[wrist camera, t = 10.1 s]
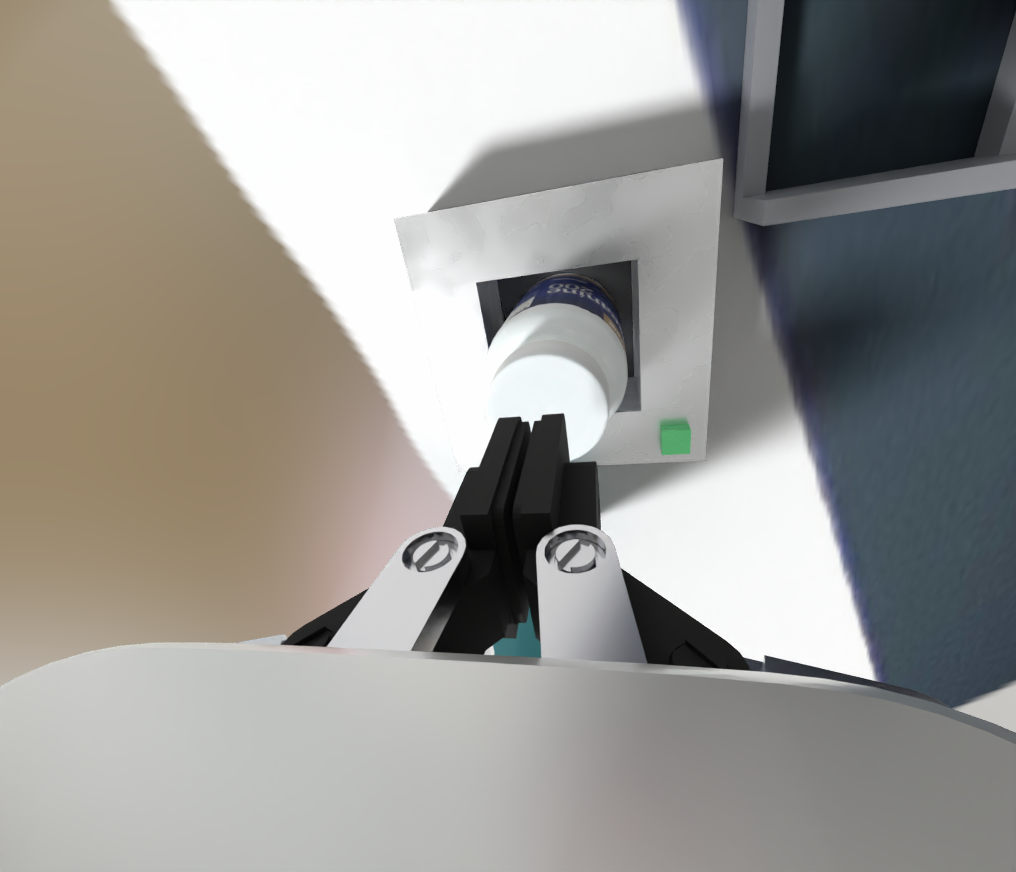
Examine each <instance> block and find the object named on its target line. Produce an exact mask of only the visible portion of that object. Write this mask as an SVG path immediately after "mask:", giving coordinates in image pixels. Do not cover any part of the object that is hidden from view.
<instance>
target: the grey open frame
mask: <svg viewBox="0 0 1016 872" xmlns="http://www.w3.org/2000/svg"><path fill="white" fill-rule="evenodd" d="M783 9H784V0H748V14H747V28H746V43H745V57H744V71H743V85H742V99H741V113H740V127H739V141H738V155H737V169H736V183H735V197H734V211H733V218H736V219H739V220H743V221H747V222H750V223H754V224H758V225H761V226H768V225H774V224H781V223H788V222H794V221H801V220H808V219H814V218H821V217H827V216H834V215H841V214H847V213H854V212H861V211H867V210H874V209H881V208H887V207H894V206H901V205H907V204H914V203H921V202H927V201H934V200H940V199H947V198H954V197H960V196H967V195H974V194H980V193H987V192H994V191H1000V190H1007V189H1014V188H1016V12H1015V15H1014V19H1013V22H1012V26H1011V29H1010V33H1009V36H1008V40H1007V43H1006V47H1005V50H1004V54H1003V57H1002V61H1001V64H1000V68H999V71H998V74H997V78H996V81H995V85H994V88H993V92H992V95H991V99H990V102H989V106H988V109H987V113H986V116H985V120H984V123H983V127H982V130H981V134H980V137H979V141H978V144H977V147H976V151H975V154H974V157H971V158H965V159H959V160H953V161H947V162H941V163H935V164H929V165H923V166H917V167H911V168H905V169H899V170H893V171H887V172H881V173H875V174H869V175H863V176H856V177H850V178H844V179H838V180H832V181H826V182H820V183H814V184H808V185H802V186H796V187H790V188H784V189H778V190H772V191H766V192H765V189H766V179H767V169H768V159H769V149H770V139H771V129H772V119H773V109H774V99H775V89H776V79H777V69H778V59H779V49H780V39H781V29H782V19H783Z"/></svg>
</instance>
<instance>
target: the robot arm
mask: <svg viewBox="0 0 1016 872" xmlns="http://www.w3.org/2000/svg"><path fill="white" fill-rule="evenodd" d="M529 608H530V613H531V618H532V622H533V627H534V632H535V637H536V638H537V639H538V641H539V642H540V643H541V658H537V657H519V656H500V655H494V653H495V651H494V644H495V643H497V642H498V641H499V640H501V639H502V638H513V639H516V637H517V631H518V625H519V623H526V622H527V618H528V611H529ZM0 872H1016V733H1015V732H1012V731H1010V730H1008V729H1005V728H1003V727H1001V726H998V725H996V724H994V723H991V722H988V721H985V720H982V719H979V718H976V717H973V716H971V715H968V714H965V713H962V712H959V711H956V710H954V709H952V708H950V707H949V706H947V705H945V704H944V703H942V702H940V701H939V700H937V699H935V698H933V697H931V696H928V695H925V694H922V693H919V692H917V691H914V690H911V689H907V688H902V687H898V686H894V685H890V684H885V683H881V682H877V681H872V680H868V679H864V678H860V677H855V676H851V675H847V674H842V673H838V672H834V671H829V670H825V669H821V668H817V667H812V666H808V665H804V664H799V663H795V662H791V661H787V660H782V659H778V658H774V657H769V656H765V655H764V660H763V662H760V661H756V660H752V659H747V658H743V657H742V655H741V654H740V652H738V651H737V650H736V649H735V648H734V647H733V646H732V645H730V644H729V643H728V642H727V641H726V640H724V639H723V638H721V637H720V636H718V635H717V634H715V633H714V632H713V631H711V630H710V629H708V628H707V627H705V626H704V625H702V624H701V623H700V622H698V621H697V620H695V619H694V618H692V617H691V616H689V615H688V614H687V613H685V612H684V611H682V610H681V609H679V608H678V607H676V606H675V605H674V604H672V603H671V602H669V601H668V600H666V599H665V598H663V597H662V596H660V595H659V594H658V593H656V592H655V591H653V590H652V589H650V588H649V587H647V586H646V585H645V584H643V583H642V582H640V581H639V580H637V579H636V578H634V577H633V576H632V575H630V574H629V573H627V572H626V571H624V570H623V569H621V567H620V564H619V560H618V557H617V553H616V549H615V546H614V544H613V542H612V540H611V538H610V537H609V536H608V535H606V534H605V533H604V532H603V531H601V520H600V499H599V485H598V472H597V463H596V461H591V462H570V457H569V448H568V439H567V431H566V422H565V415H564V413H559V414H546V415H542V418H541V420H539V421H534V424H533V428H532V432H531V429H530V424H529V422H528V421H525V422H522V419H521V417H520V416H518V417H504V418H499V419H498V421H497V423H496V426H495V428H494V431H493V433H492V436H491V438H490V441H489V443H488V445H487V448H486V450H485V453H484V455H483V458H482V460H481V463H480V465H479V467H471V468H469V469H468V471H467V473H466V475H465V477H464V479H463V482H462V484H461V486H460V489H459V491H458V493H457V495H456V498H455V500H454V502H453V505H452V507H451V509H450V511H449V514H448V516H447V518H446V521H445V523H444V525H443V527H434V528H429V529H425V530H423V531H421V532H418V533H416V534H414V535H413V536H411V537H410V538H408V539H407V540H406V541H405V542H404V543H403V544H402V545H401V546H400V547H399V548H398V550H397V551H396V552H395V554H394V555H393V556H392V558H391V559H390V561H389V562H388V563H387V565H386V566H385V567H384V569H383V570H382V572H381V573H380V574H379V576H378V577H377V578H376V580H375V581H374V582H373V584H372V585H371V587H370V588H368V589H367V590H365V591H363V592H361V593H360V594H358V595H357V596H354V597H353V598H351V599H349V600H347V601H346V602H344V603H342V604H340V605H339V606H337V607H335V608H334V609H332V610H330V611H328V612H326V613H325V614H323V615H321V616H320V617H318V618H316V619H315V620H313V621H311V622H309V623H307V624H306V625H304V626H303V627H301V628H300V629H298V630H297V631H295V632H294V633H293V634H292V635H291V636H290V637H289V638H288V639H287V637H286V636H285V634H282V635H277V636H271V637H265V638H259V639H254V640H248V641H243V642H237V643H202V642H199V643H198V642H173V643H145V644H134V645H122V646H116V647H111V648H105V649H100V650H95V651H90V652H85V653H81V654H78V655H75V656H71V657H68V658H65V659H61V660H58V661H55V662H52V663H49V664H47V665H44V666H41V667H39V668H36V669H34V670H32V671H30V672H27V673H25V674H23V675H20V676H18V677H16V678H14V679H12V680H10V681H8V682H7V683H5V684H3V685H2V686H0Z"/></svg>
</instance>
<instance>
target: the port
mask: <svg viewBox="0 0 1016 872" xmlns="http://www.w3.org/2000/svg"><path fill="white" fill-rule="evenodd" d="M722 174H723V158H721V159H715V160H709V161H703V162H697V163H692V164H686V165H681V166H675V167H670V168H665V169H659V170H654V171H649V172H643V173H638V174H632V175H627V176H622V177H616V178H611V179H605V180H600V181H595V182H589V183H584V184H578V185H573V186H568V187H562V188H557V189H551V190H546V191H541V192H535V193H530V194H524V195H519V196H514V197H508V198H503V199H497V200H492V201H487V202H481V203H476V204H470V205H465V206H460V207H454V208H449V209H443V210H438V211H433V212H427V213H422V214H417V215H412V216H407V217H402V218H397V219H394V222H395V225H396V229H397V233H398V237H399V241H400V245H401V249H402V253H403V256H404V260H405V264H406V268H407V272H408V276H409V280H410V284H411V287H412V291H413V295H414V299H415V303H416V307H417V311H418V315H419V319H420V322H421V326H422V330H423V334H424V338H425V342H426V346H427V350H428V353H429V357H430V361H431V365H432V369H433V373H434V377H435V381H436V384H437V388H438V392H439V396H440V400H441V404H442V408H443V412H444V416H445V419H446V423H447V427H448V431H449V435H450V439H451V443H452V447H453V450H454V454H455V458H456V462H457V466H458V470H459V472H462V471H468V469H469V468H471V467H479V465H480V463H481V460H482V458H483V455H484V453H485V450H486V448H487V445H488V443H489V441H490V438H491V436H492V433H493V431H492V429H491V427H490V425H489V422H488V418H487V414H486V400H487V395H488V394H487V391H486V387H485V380H484V367H485V360H486V356H487V353H488V350H489V347H490V345H491V343H492V341H493V339H494V337H495V335H496V334H497V332H498V331H499V329H500V328H501V327H502V325H503V324H504V320H503V314H502V308H501V302H500V296H499V290H498V284H497V279H504V278H511V277H518V276H525V275H532V274H539V273H546V272H553V271H560V270H567V269H574V268H581V267H587V266H594V265H601V264H608V263H615V262H622V261H629V260H631V279H632V314H633V349H634V377H628V379H627V386H626V390H625V394H624V397H623V399H622V402H621V404H620V406H619V408H618V409H617V411H616V412H615V414H614V415H613V416H612V417H611V419H610V420H609V421H608V423H607V426H606V429H605V431H604V434H603V436H602V437H601V439H600V440H599V441H598V443H597V444H596V445H595V446H594V447H593V448H592V449H591V450H590V451H588V452H587V453H586V454H584V455H582V456H581V457H579V458H577V459H574V460H572V461H570V462H591V461H596V463H597V466H598V465H621V464H644V463H666V462H689V461H706V447H707V430H708V412H709V395H710V378H711V361H712V344H713V327H714V310H715V293H716V276H717V259H718V242H719V225H720V208H721V191H722Z"/></svg>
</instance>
